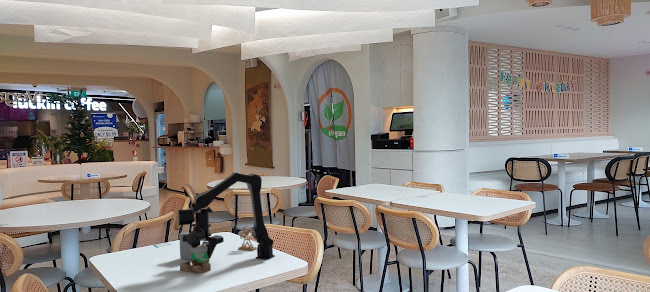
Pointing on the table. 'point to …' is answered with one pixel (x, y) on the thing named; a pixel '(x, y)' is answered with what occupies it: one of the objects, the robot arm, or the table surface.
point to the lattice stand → (247, 248)
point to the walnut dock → (194, 268)
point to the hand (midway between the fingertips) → (203, 257)
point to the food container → (200, 254)
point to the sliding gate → (184, 248)
